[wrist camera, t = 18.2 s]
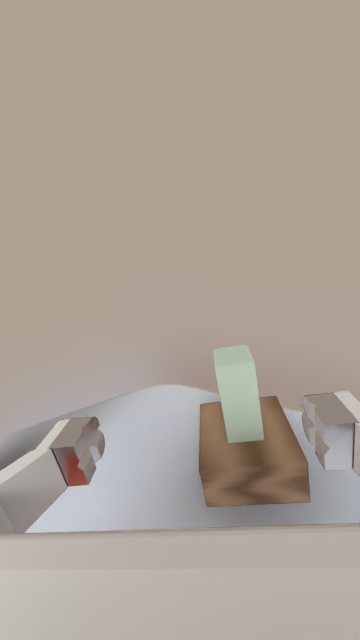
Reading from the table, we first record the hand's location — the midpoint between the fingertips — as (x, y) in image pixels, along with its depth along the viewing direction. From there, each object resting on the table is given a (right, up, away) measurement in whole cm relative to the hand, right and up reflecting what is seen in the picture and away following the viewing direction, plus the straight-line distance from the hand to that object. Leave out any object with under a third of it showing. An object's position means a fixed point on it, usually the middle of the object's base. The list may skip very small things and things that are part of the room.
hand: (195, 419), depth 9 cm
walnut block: (+9, -16, +25) cm, 31 cm away
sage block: (+8, -11, +23) cm, 27 cm away
